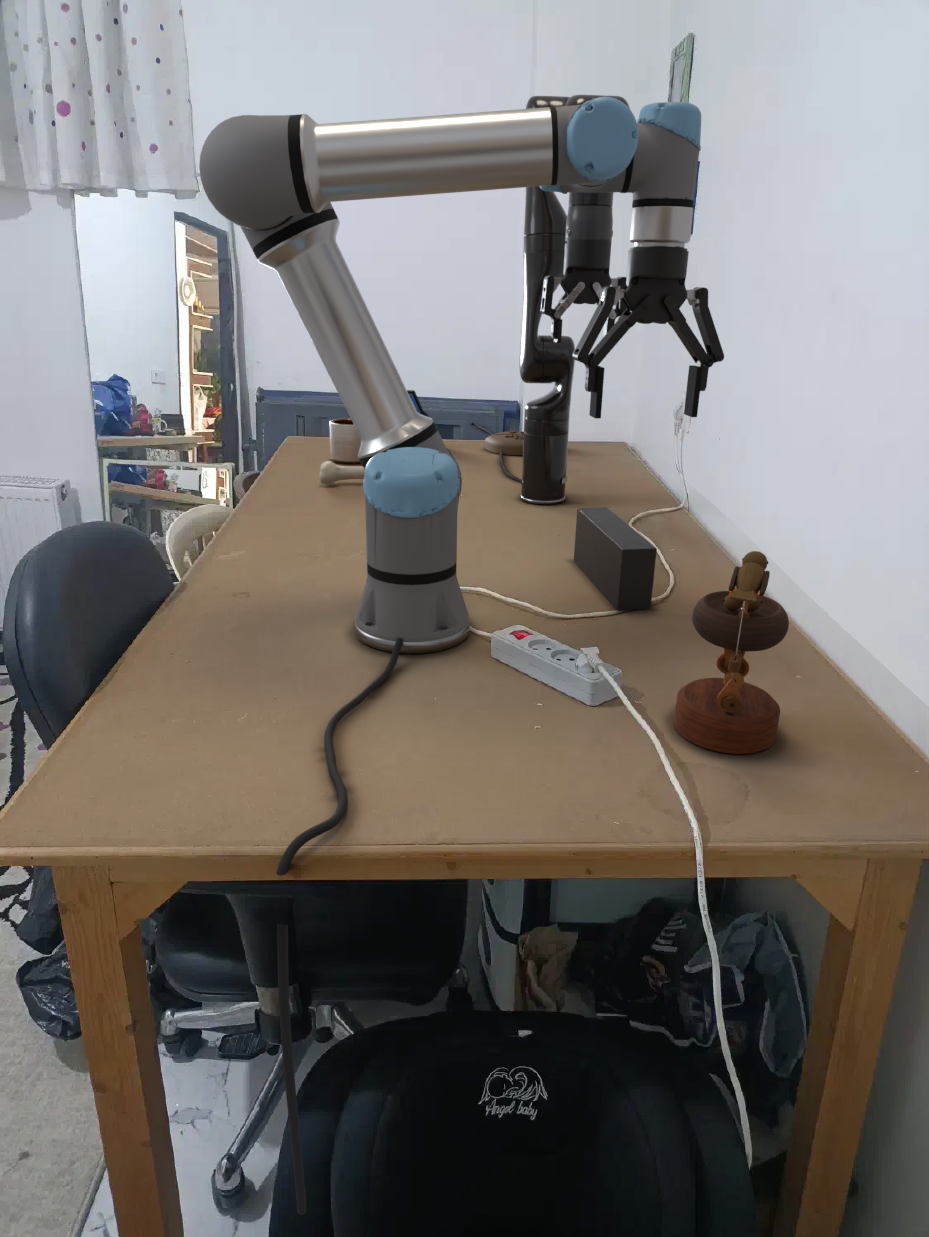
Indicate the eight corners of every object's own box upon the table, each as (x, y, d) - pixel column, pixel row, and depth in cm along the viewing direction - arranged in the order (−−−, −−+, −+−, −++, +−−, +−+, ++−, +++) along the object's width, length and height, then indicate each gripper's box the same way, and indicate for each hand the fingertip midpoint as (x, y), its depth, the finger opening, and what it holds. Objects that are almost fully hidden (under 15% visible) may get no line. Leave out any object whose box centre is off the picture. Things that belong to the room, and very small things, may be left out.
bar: (650, 609, 122) (657, 548, 119) (617, 610, 121) (622, 549, 118) (602, 560, 143) (606, 507, 139) (573, 561, 142) (577, 507, 138)
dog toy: (407, 478, 195) (407, 457, 193) (410, 485, 190) (410, 462, 188) (319, 480, 192) (318, 458, 190) (319, 487, 186) (318, 464, 185)
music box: (796, 766, 83) (813, 573, 76) (681, 766, 84) (687, 577, 77) (763, 694, 97) (775, 526, 90) (665, 695, 98) (669, 530, 91)
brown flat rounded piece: (490, 464, 211) (490, 447, 209) (483, 443, 237) (483, 428, 235) (573, 465, 212) (575, 448, 210) (557, 444, 238) (558, 429, 236)
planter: (327, 456, 217) (325, 418, 214) (369, 454, 220) (368, 417, 217) (334, 465, 208) (332, 425, 204) (377, 463, 211) (376, 424, 207)
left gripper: (737, 248, 112) (717, 411, 120) (555, 244, 108) (547, 413, 117) (765, 247, 105) (741, 419, 113) (571, 243, 102) (561, 422, 110)
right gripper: (622, 239, 142) (614, 341, 148) (540, 237, 140) (535, 340, 146) (638, 238, 135) (629, 344, 141) (551, 236, 133) (546, 344, 139)
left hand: (643, 416), depth 115 cm, fingers open, 13 cm apart
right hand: (581, 342), depth 143 cm, fingers open, 8 cm apart
